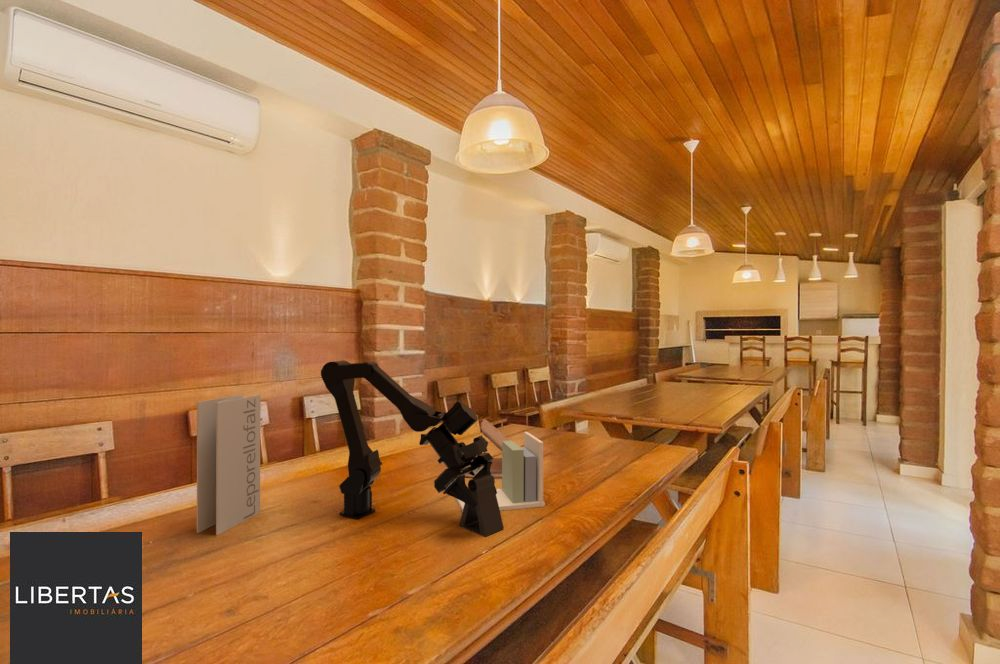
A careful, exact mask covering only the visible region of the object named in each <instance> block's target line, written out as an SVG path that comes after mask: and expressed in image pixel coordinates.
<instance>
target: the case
mask: <svg viewBox="0 0 1000 664" xmlns="http://www.w3.org/2000/svg"><path fill="white" fill-rule="evenodd" d="M479 426H480V429H481V433H482V434H483V436H484V438H487V439H488V440H489V441H490V442H491V443H492V444H493V445H494V446H496V447H497V448H498V449H499V450H500V452H502V441H511V439H509V438H507V436H506V435H504V433H502V432H501V430H499V429H497V427H495V425H493V423H491V422H490V421H488V420H487V419H485V418H483V419H482V421H481V423H480V425H479ZM492 458H493V460H492V465H491V469H490V473H491V475H492V476H493V477H494V479H502V457H492ZM472 461H473V460H472ZM472 461H471V462H472ZM473 477H474V476H472V475H470V474H469V473H468V474H466V475H465V478H469V479H473Z"/></svg>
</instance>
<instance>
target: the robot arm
mask: <svg viewBox="0 0 1000 664" xmlns="http://www.w3.org/2000/svg"><path fill="white" fill-rule="evenodd" d="M320 376H321V379H322V381H323V384H324V386H325V388H326V390H328V392H329V393H330V395H332V397H333V398H334V401H335V405H336V408H337V411H338V412H337V413H338V415H339V418H340V422H341V426H342V429H343V434H344V437H345V441H346V444H347V448H348V459H347V460H348V461H347V471H348V472H347V473H348V476H347V477H346V478H345V479H344V480H343V481H342V482H340V484H339V485H338V486H339V490H340V493H341V494H343V510H341V511H339V515H341V516H344V517H346V518H347V517H348V518H352V519H356V520H358V519H361V518H363V517H366V516H368V515H370V514H372V513H375V512H376V508H372V507H373V502H372V501H373V491H372V486H371V485H373V484H374V482H375V480H376V479H377V477H379V476H380V473H381V471H382V467H381V466H382V465H383V462H382V461H381V459H380V452H379V449H375V450H374V451H373V450H372V448H371V447H370V446H369V444H368V441H367V437H366V434H365V430H364V427H363V426H364V425H363V424H362V419H361V416H360V411H359V408H358V405H357V401H356V399H355V395H354V394H355V393H354V389H355V381H356V379H360V378H361V379H362V378H364V379H365V380H366V381H367V382H368V383H370V384H371V386H373V387H374V388H375V389H376V390H377V391H378V392H379V393H380V394H381V395H383V397H385V399H387V400H388V401H389V402H390V403H391V404H392V405H393V406H395V407H396V409H397V410H398V411H399V413H400V415H401V417H402V419H403V420H404V421H405V422H406V424H407V425H408V426H409V428H410V429H411V430H412V431H414V432H416V433H419V432H425V431H426V430H428V429H429V428H431V427H432V428H431V429H430V430H429V431H428V432H427V433H421V434H420V440H419V443H418V444H419V446H427V445H429V444H430V446H431V448H432V450H433V451H434V452H435V453H436V454H437V456H438V457H439V458H438V459H437V462H438V464H444V466H445V467H446V469H445V468H444V470H443V471H442V472H441V473H440V474H439V475H438V476H437V477H436V478H435V479H434V481H433V487H434V488H435V490H436V491H437V493H438V494H440V493H442V494H443V495H447V496H451V497H452V498H454V499H456V498H457V499H459V500H461V501H462V502H464V503H466V504H468V505H470V506H472V507H474V508H475V507H476V506H477V505H478V504H477V502H476V500H475V498H474V497H473V495H472V494H471V492H470V491H469V489H468V485H467V484H466V477H465V475H466V474H468V473H469V474H470V475H472V476H474V477H473V478H472V479H474V478H477V477H481V476H484V475H487V474H489V475H491V473H490V469H491V465H492V460H493V458H494V457H493V456H492V454H491V453H490V452H488V446H489V445H488V444H489V442H488V440H486V437H483V436H484V435H483V436H482V435H479V436H477V437H474V438H473V442H471V443H469V444H466V443H465V442H463V441H461V442H458V440H457V439H456V438H455V436H457V435H458V436H462V435H463V434H465V432H467V431H468V430H469V429H470V428H471V427H472V426H473V425H474V424H475V423H477V421H479V417H478V415H477V414H476V413H475V411H474V409H472V407H469V406H468V405H467V404H465V403H464V402H462V401H461V400H457V401H456V402H455V403H454V404H452V405H453V406H452V407H450V408H449V410H448V411H446V412H445V411H440V410H435V408H434V407H432V406H431V405H430V404H428V403H426V402H424V401H423V400H421V399H419V398H416V397H414V396H413V395H411V394H410V393H409V392H407V391H406V389H404V388H403V387H402V386H401V385H400V384H399V383H398V382H397V381H395V380H394V379H393V378H392V377H391V376H390V375H389V374H388V373H387V372H385V371H384V369H382V368H381V367H380V366H379V365H378V363H377V362H375V361H365V362H356V363H351V362H349V361H347V360H344V359H343V360H336V361H335V360H334V361H329V362H326V363H325V364H324V365H323V366H322V368H321V370H320ZM441 422H442V423H441ZM439 424H440V425H439ZM438 425H439V426H438ZM472 460H473V461H472ZM471 461H472V462H471ZM489 475H488V476H489ZM494 488H495V493H496V494H497V490H496V489H497V488H496V486H495V484H494Z"/></svg>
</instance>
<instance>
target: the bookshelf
mask: <svg viewBox="0 0 1000 664" xmlns="http://www.w3.org/2000/svg"><path fill="white" fill-rule="evenodd" d="M501 458H502V478H501V488H496V490H497V494H496V497H497V501H498V506H499V510H500V511H508V510H509V511H511V510H520V509H521V510H522V509H530V508H531V509H533V508H543V507H546V502H545V501H544V442H543V441H542V440H540V439H539V438H537V437H536V436H534V435H533V434H531V433H530V432H528V431H524V432H523V446H520V445H519V444H517V443H516V442H515V441H513V440H510V441H502V451H501ZM455 500H456V502H457V504H458V506H459V509H460V510H461V512H463V509H464V505H465V503H464V502H462V501H461V500H459V499H457V498H455Z"/></svg>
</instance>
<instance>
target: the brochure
mask: <svg viewBox="0 0 1000 664" xmlns="http://www.w3.org/2000/svg"><path fill="white" fill-rule="evenodd" d="M243 396H244V395H243V393H242V394H236V395H230V396H225V397H219V398H218V397H217V398H214V399H207V400H201V401H196V534H199V533H201V532H203V531H205V530H207V529H208V528H211V527H213V526H215V536H218V535H221V534H222V533H225V532H226V531H228V530H230V529H232V528H234V527H236V526H237V525H239V524H241V523H243V522H245V521H247V520H249V519H251V518H253V517H254V516H256V515H258V514H260V513H261V394H257V395H251V396H247V397H243Z"/></svg>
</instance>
